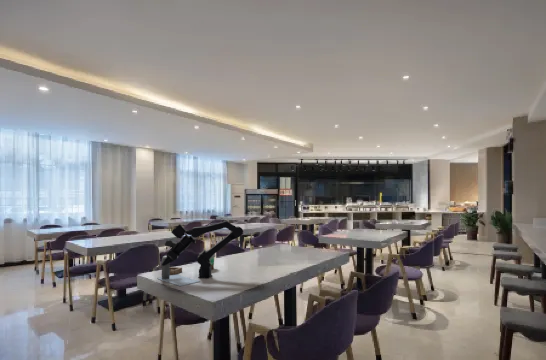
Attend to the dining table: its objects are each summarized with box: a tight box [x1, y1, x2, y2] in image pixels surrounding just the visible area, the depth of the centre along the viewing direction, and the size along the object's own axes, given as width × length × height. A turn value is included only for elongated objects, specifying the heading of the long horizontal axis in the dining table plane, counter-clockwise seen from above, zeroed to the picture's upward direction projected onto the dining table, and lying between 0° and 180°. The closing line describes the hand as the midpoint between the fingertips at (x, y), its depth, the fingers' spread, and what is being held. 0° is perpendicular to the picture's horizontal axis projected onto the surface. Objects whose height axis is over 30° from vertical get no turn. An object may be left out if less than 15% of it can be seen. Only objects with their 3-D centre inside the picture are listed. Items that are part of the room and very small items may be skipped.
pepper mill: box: [161, 255, 171, 279], centre depth 181 cm, size 4×4×12 cm
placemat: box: [157, 274, 201, 287], centre depth 177 cm, size 24×13×1 cm, turn 48°
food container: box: [209, 253, 216, 270], centre depth 208 cm, size 12×6×10 cm, turn 168°
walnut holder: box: [170, 266, 183, 275], centre depth 197 cm, size 8×8×2 cm
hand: (163, 263), depth 181 cm, fingers open, 9 cm apart
